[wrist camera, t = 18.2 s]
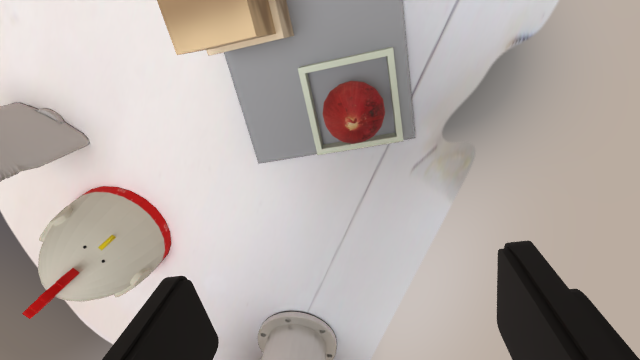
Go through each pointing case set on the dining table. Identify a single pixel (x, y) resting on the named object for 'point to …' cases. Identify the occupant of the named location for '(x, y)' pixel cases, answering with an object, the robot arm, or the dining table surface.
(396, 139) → the socket
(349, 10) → the board
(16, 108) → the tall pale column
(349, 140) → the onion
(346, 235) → the dining table surface
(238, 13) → the cube
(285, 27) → the brown rectangular block
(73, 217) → the kitchen timer
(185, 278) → the robot arm
